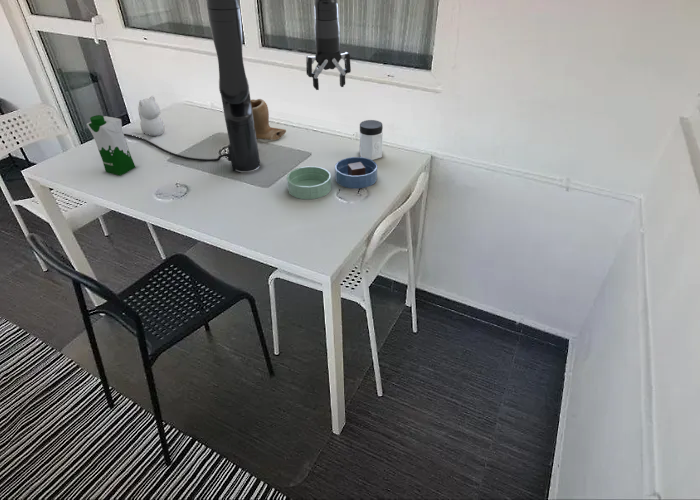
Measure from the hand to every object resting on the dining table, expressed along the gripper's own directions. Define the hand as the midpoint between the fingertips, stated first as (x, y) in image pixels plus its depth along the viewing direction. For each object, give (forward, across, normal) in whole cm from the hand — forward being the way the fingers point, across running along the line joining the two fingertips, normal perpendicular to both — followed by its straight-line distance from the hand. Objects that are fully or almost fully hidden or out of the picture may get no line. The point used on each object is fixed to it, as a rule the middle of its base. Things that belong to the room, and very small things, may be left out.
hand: (329, 87), depth 149 cm
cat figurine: (+26, +63, -49) cm, 84 cm away
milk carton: (+26, +73, -18) cm, 80 cm away
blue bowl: (+26, -3, +17) cm, 31 cm away
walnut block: (+25, -4, +17) cm, 31 cm away
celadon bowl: (+26, +13, +19) cm, 35 cm away
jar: (+26, -15, +1) cm, 30 cm away
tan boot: (+26, +20, -29) cm, 44 cm away
